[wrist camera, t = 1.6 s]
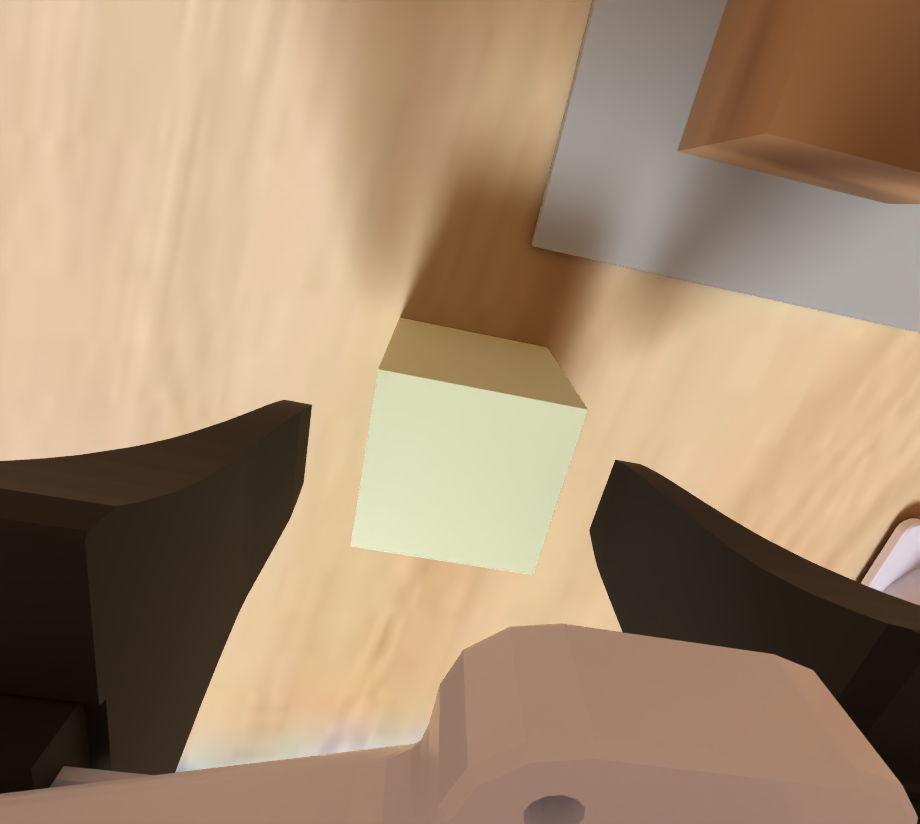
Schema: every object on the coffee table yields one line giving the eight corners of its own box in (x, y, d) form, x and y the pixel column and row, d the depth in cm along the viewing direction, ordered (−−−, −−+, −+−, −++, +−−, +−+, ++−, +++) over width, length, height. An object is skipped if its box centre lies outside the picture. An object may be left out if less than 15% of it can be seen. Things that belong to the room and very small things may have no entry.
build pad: (1216, -210, 11) (1243, -224, 11) (914, 330, 15) (925, 334, 15) (693, -400, 10) (703, -424, 9) (530, 245, 14) (533, 246, 14)
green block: (546, 346, 16) (588, 410, 11) (510, 474, 17) (533, 575, 13) (400, 317, 15) (378, 368, 10) (377, 450, 17) (350, 546, 12)
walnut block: (1026, -80, 11) (1303, -213, 8) (887, 203, 14) (1050, 205, 10) (780, -159, 11) (952, -344, 7) (677, 151, 13) (766, 133, 9)
